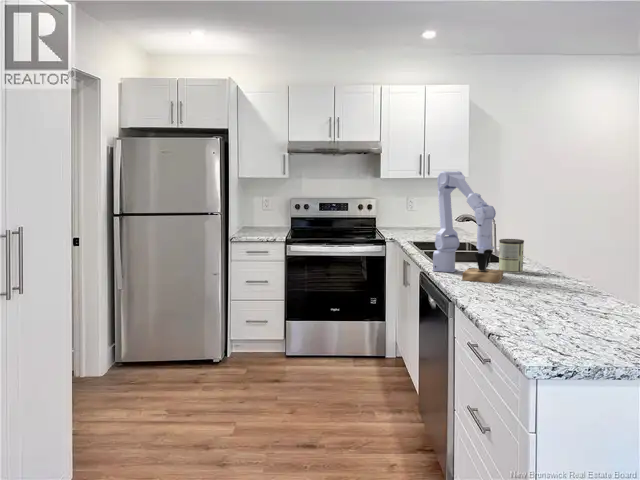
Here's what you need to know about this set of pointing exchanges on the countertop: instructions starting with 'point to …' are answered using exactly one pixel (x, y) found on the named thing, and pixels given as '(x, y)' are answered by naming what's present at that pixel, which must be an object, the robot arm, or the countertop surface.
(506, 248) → the coffee can
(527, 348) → the countertop surface
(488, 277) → the tan slotted block
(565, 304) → the countertop surface
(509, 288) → the countertop surface
